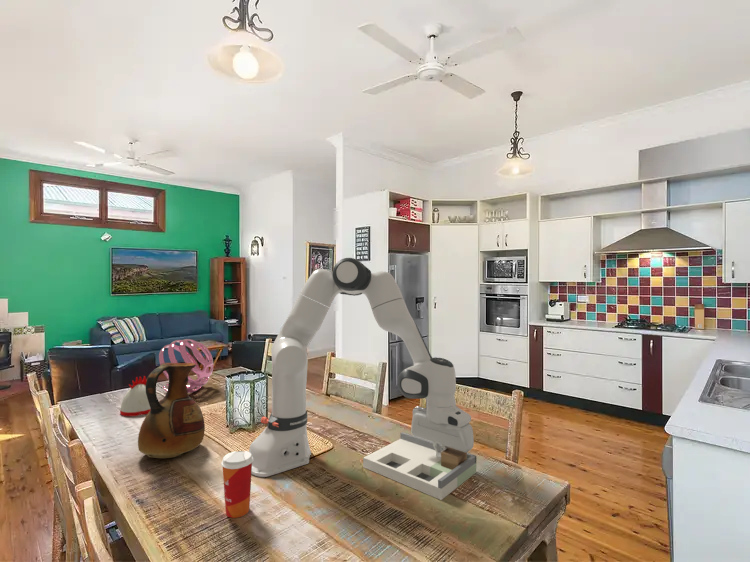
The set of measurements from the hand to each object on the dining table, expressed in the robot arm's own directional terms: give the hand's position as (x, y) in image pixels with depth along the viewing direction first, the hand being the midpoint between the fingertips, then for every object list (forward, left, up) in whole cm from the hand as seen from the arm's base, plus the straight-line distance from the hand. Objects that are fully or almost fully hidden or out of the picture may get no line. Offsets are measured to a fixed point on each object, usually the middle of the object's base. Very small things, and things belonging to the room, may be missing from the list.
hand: (440, 457), depth 123 cm
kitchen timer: (-40, +129, -4) cm, 135 cm away
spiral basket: (-13, +142, -4) cm, 143 cm away
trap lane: (-4, +5, -4) cm, 8 cm away
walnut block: (0, -5, -1) cm, 5 cm away
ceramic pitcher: (-48, +75, -4) cm, 89 cm away
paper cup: (-52, +27, -4) cm, 59 cm away
